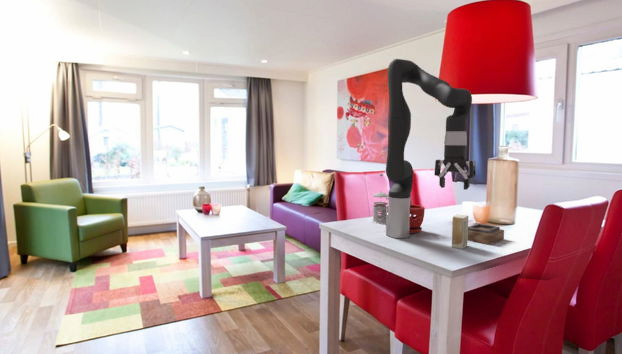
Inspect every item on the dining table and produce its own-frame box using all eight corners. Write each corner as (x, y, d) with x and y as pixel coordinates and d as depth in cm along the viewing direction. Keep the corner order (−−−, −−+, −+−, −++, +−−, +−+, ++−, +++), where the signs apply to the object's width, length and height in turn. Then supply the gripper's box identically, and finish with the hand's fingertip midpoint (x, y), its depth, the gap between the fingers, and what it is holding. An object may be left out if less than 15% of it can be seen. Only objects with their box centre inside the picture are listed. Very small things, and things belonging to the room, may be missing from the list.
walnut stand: (461, 239, 160) (462, 227, 159) (475, 234, 168) (476, 222, 168) (490, 244, 151) (490, 232, 150) (503, 239, 159) (504, 227, 159)
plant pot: (425, 235, 166) (425, 208, 165) (394, 234, 169) (395, 207, 168) (422, 228, 179) (423, 203, 178) (394, 227, 182) (394, 203, 181)
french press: (367, 220, 198) (367, 173, 196) (385, 218, 203) (386, 172, 200) (378, 224, 189) (378, 174, 187) (396, 222, 194) (397, 173, 192)
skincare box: (456, 243, 152) (457, 214, 151) (467, 245, 150) (468, 215, 149) (451, 247, 147) (452, 216, 146) (462, 249, 145) (463, 217, 144)
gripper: (479, 144, 135) (477, 189, 136) (441, 144, 144) (439, 186, 146) (471, 144, 129) (469, 191, 131) (432, 144, 139) (430, 187, 140)
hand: (453, 188), depth 138 cm, fingers open, 8 cm apart
